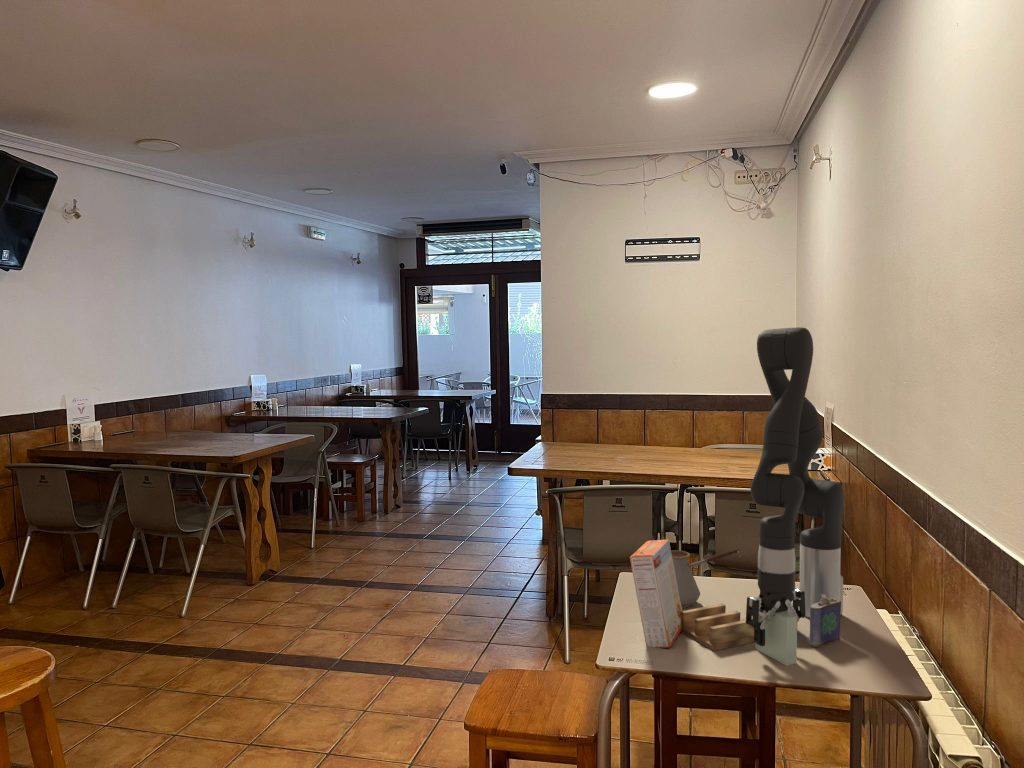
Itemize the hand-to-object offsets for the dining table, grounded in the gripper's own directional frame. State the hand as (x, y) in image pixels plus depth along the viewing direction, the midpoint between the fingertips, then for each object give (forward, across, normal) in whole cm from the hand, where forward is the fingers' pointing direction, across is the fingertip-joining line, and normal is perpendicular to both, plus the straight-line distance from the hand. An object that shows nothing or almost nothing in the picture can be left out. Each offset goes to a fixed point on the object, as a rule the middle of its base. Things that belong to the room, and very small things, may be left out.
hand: (775, 641), depth 155 cm
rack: (+3, +4, -14) cm, 15 cm away
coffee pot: (+3, -4, -32) cm, 32 cm away
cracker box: (+4, +15, -18) cm, 24 cm away
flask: (+3, -15, -1) cm, 15 cm away
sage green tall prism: (+3, 0, 0) cm, 3 cm away
